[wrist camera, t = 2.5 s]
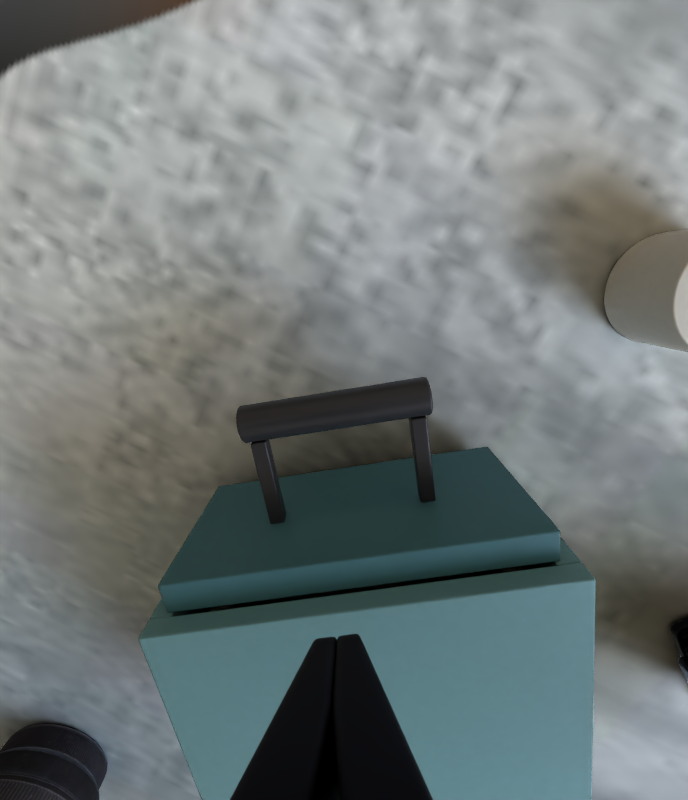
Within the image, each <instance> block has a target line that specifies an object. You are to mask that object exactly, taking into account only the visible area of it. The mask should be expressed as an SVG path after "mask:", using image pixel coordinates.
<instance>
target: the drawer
mask: <svg viewBox="0 0 688 800" xmlns="http://www.w3.org/2000/svg"><path fill="white" fill-rule="evenodd" d="M432 410H433V401H432V394H431V389H430V385H429V382H428V380H427V378H425V377H420V378H414V379H408V380H401V381H395V382H389V383H383V384H376V385H370V386H364V387H357V388H351V389H345V390H338V391H332V392H326V393H319V394H313V395H307V396H300V397H294V398H288V399H281V400H275V401H269V402H262V403H256V404H250V405H244V406H240V407H239V408H238V410H237V415H236V422H237V429H238V433H239V435H240V438H241V440H242V441H243V442H245V443H250V442H252V443H251V449H252V453H253V457H254V461H255V465H256V469H257V473H258V477H259V481H253V482H246V483H239V484H233V485H226V486H220V487H218V489H217V491H216V492H215V494H214V495H213V497H212V499H211V500H210V502H209V503H208V505H207V507H206V508H205V510H204V512H203V513H202V515H201V516H200V518H199V520H198V521H197V523H196V525H195V526H194V528H193V529H192V531H191V533H190V534H189V536H188V538H187V539H186V541H185V542H184V544H183V546H182V547H181V549H180V551H179V552H178V554H177V555H176V557H175V559H174V560H173V562H172V563H171V565H170V567H169V568H168V570H167V572H166V573H165V575H164V576H163V578H162V580H161V581H160V583H159V585H158V588H159V591H160V593H161V596H162V599H163V602H164V605H165V607H166V610H167V612H168V613H172V612H180V611H187V610H195V609H202V608H210V607H211V610H210V612H212V611H219V610H227V609H234V608H242V607H249V606H257V605H264V604H272V603H279V602H287V601H294V600H302V599H310V598H317V597H325V596H332V595H340V594H347V593H355V592H362V591H370V590H377V589H385V588H392V587H400V586H407V585H415V584H423V583H430V582H438V581H445V580H453V579H460V578H468V577H475V576H483V575H490V574H498V573H505V572H513V571H521V570H523V568H522V567H521V566H525V565H532V564H540V563H547V562H555V561H560V530H559V529H558V528H557V527H556V525H555V524H554V523H553V522H552V521H551V520H550V518H549V517H548V516H547V515H546V514H545V513H544V511H543V510H542V509H541V508H540V507H539V506H538V505H537V503H536V502H535V501H534V500H533V499H532V498H531V496H530V495H529V494H528V493H527V492H526V491H525V489H524V488H523V487H522V486H521V485H520V484H519V483H518V481H517V480H516V479H515V478H514V477H513V476H512V474H511V473H510V472H509V471H508V470H507V469H506V467H505V466H504V465H503V464H502V463H501V462H500V461H499V459H498V458H497V457H496V456H495V455H494V454H493V452H492V451H491V450H490V449H489V448H488V447H482V448H475V449H468V450H462V451H455V452H448V453H441V454H435V455H431V451H430V442H429V433H428V424H427V418H426V415H430V414H432ZM406 418H409V424H410V432H411V440H412V448H413V456H414V458H408V459H401V460H394V461H388V462H381V463H374V464H367V465H361V466H354V467H347V468H340V469H334V470H327V471H320V472H313V473H307V474H300V475H293V476H287V477H280V478H278V476H277V472H276V467H275V463H274V459H273V454H272V450H271V446H270V442H269V439H276V438H282V437H289V436H295V435H302V434H308V433H315V432H321V431H328V430H335V429H341V428H348V427H354V426H361V425H367V424H374V423H380V422H387V421H393V420H400V419H406Z"/></svg>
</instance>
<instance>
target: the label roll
mask: <svg viewBox="0 0 688 800" xmlns="http://www.w3.org/2000/svg"><path fill="white" fill-rule="evenodd" d="M604 305H605V311H606V314H607V317H608V319H609V321H610V323H611V325H612V326H613V327H614V329H615V330H616V331H617V332H618V333H620V334H621V335H622V336H624V337H626V338H627V339H630V340H632V341H636V342H641V343H646V344H650V345H655V346H660V347H665V348H670V349H675V350H680V351H685V352H688V229H683V230H677V231H671V232H664V233H659V234H655V235H652V236H649V237H647V238H645V239H643V240H641V241H640V242H638V243H636V244H635V245H634V246H632V247H631V248H630V249H629V250H627V251H626V252H625V253H624V254H623V255H622V257H621V258H620V259H619V260H618V261H617V263H616V264H615V266H614V267H613V269H612V271H611V273H610V275H609V278H608V281H607V284H606V288H605V294H604Z"/></svg>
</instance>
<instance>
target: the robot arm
mask: <svg viewBox="0 0 688 800" xmlns="http://www.w3.org/2000/svg"><path fill="white" fill-rule="evenodd" d="M670 631H671V634H672V636H673V639H674V641H675V644H676V646H677V648H678V651H679V653H680V656H681V657H679V665H680V667H681V670H682V672H683V674H684V677H685V679H686V682H687V684H688V618H687V619H684V620H682V621H679V622H677V623H675V624H673V625H672V626H671V629H670ZM230 800H433V798H432V796H431V794H430V792H429V789H428V787H427V785H426V783H425V780H424V778H423V776H422V774H421V771H420V769H419V767H418V765H417V762H416V760H415V758H414V756H413V754H412V751H411V749H410V747H409V745H408V742H407V740H406V738H405V736H404V733H403V731H402V729H401V727H400V724H399V722H398V720H397V718H396V715H395V713H394V711H393V709H392V707H391V704H390V702H389V700H388V698H387V695H386V693H385V691H384V689H383V686H382V684H381V682H380V680H379V677H378V675H377V673H376V671H375V668H374V666H373V664H372V662H371V660H370V657H369V655H368V653H367V651H366V648H365V646H364V644H363V642H362V639H361V637H360V636H359V635H358V634H349V635H341V636H339V637H338V639H336V638H335V637H326V638H318V639H316V640H314V642H313V643H312V645H311V647H310V649H309V651H308V652H307V654H306V656H305V658H304V660H303V662H302V664H301V666H300V668H299V670H298V671H297V673H296V675H295V677H294V679H293V681H292V683H291V685H290V687H289V688H288V690H287V692H286V694H285V696H284V698H283V700H282V702H281V704H280V706H279V707H278V709H277V711H276V713H275V715H274V717H273V719H272V721H271V723H270V724H269V726H268V728H267V730H266V732H265V734H264V736H263V738H262V740H261V742H260V743H259V745H258V747H257V749H256V751H255V753H254V755H253V757H252V759H251V760H250V762H249V764H248V766H247V768H246V770H245V772H244V774H243V776H242V778H241V779H240V781H239V783H238V785H237V787H236V789H235V791H234V793H233V795H232V796H231V798H230Z"/></svg>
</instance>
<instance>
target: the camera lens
mask: <svg viewBox="0 0 688 800" xmlns="http://www.w3.org/2000/svg"><path fill="white" fill-rule="evenodd" d="M106 771H107V760H106V757H105V754H104V752H103V750H102V749H101V748H100V747H99V745H98V744H97V743H96V742H95V741H94V740H93V739H91V738H90V737H88V736H87V735H85V734H83V733H81V732H79V731H77V730H75V729H72V728H68V727H65V726H60V725H53V724H40V725H33V726H29V727H26V728H23V729H21V730H20V731H18V732H16V733H15V734H14V735H13V736H12V737H11V738H10V739H9V740H8V741H7V742H6V744H5V745H4V746H3V747H2V749H1V750H0V800H99V788H100V786H101V784H102V782H103V780H104V777H105V775H106Z"/></svg>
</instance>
